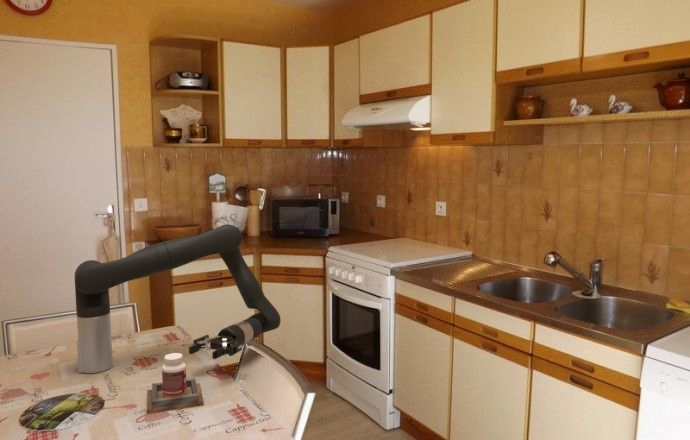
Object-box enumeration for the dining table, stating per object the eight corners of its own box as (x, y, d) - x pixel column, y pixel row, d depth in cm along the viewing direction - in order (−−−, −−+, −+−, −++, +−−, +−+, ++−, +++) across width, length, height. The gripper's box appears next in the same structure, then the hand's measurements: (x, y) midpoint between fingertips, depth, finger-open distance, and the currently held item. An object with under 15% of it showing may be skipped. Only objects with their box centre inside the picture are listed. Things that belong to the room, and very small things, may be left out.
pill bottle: (189, 396, 140) (188, 357, 138) (166, 402, 136) (164, 362, 135) (183, 388, 145) (181, 350, 143) (160, 393, 141) (158, 354, 140)
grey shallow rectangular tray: (146, 413, 132) (146, 403, 132) (147, 393, 144) (147, 383, 143) (203, 405, 137) (203, 395, 137) (199, 386, 148) (199, 376, 148)
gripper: (217, 321, 166) (181, 337, 152) (254, 327, 160) (221, 344, 146) (218, 344, 167) (182, 361, 153) (255, 351, 161) (221, 370, 147)
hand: (201, 353), depth 149 cm, fingers open, 8 cm apart
